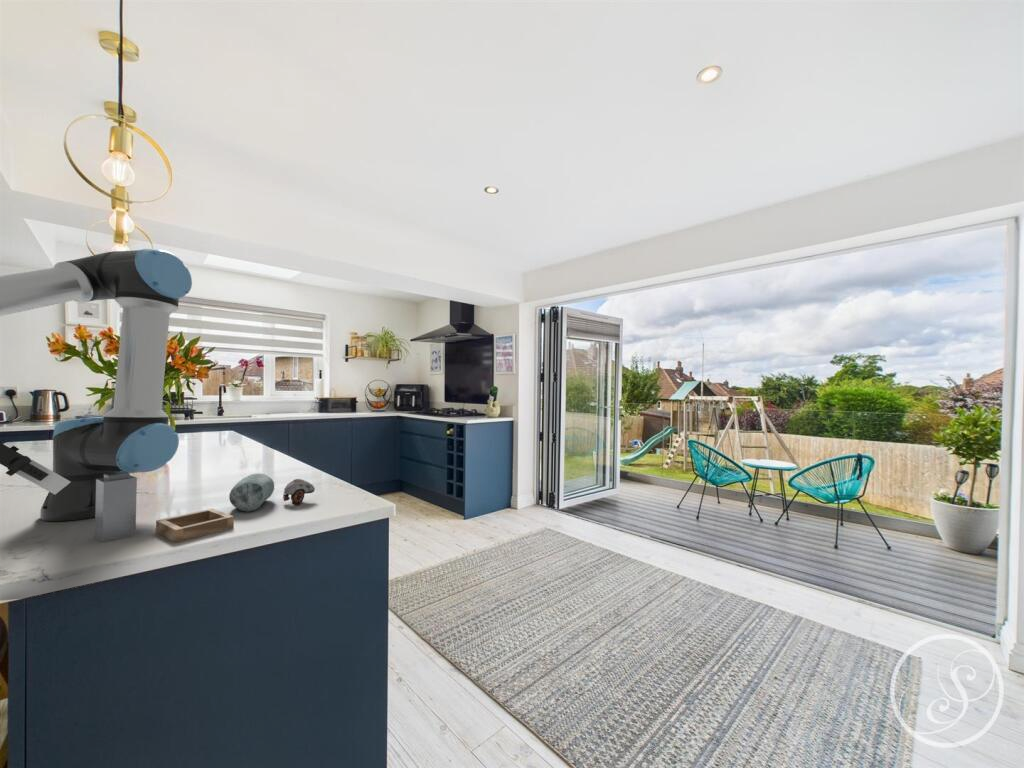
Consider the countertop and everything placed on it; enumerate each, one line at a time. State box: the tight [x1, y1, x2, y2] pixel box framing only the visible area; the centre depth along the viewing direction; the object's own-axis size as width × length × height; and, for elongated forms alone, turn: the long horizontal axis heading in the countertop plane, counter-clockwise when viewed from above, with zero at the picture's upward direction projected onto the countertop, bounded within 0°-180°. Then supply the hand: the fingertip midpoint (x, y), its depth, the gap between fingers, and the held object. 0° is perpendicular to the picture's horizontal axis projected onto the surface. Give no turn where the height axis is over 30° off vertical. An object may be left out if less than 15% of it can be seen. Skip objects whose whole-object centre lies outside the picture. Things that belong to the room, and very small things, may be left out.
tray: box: [155, 508, 235, 543], centre depth 88 cm, size 10×10×2 cm
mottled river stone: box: [228, 473, 275, 512], centre depth 106 cm, size 14×10×10 cm
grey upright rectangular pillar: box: [94, 471, 138, 543], centre depth 84 cm, size 5×5×13 cm
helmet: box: [282, 478, 316, 506], centre depth 109 cm, size 6×8×7 cm
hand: (53, 482), depth 76 cm, fingers open, 13 cm apart
